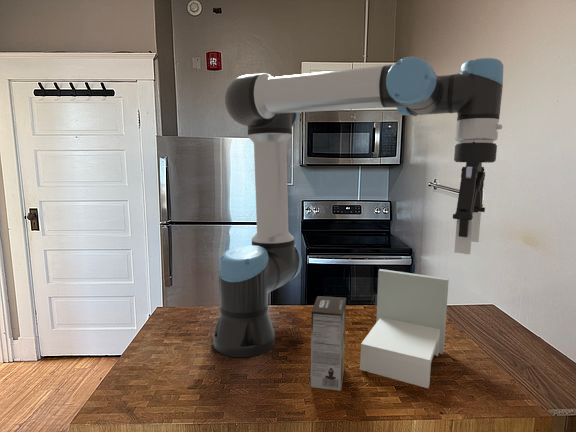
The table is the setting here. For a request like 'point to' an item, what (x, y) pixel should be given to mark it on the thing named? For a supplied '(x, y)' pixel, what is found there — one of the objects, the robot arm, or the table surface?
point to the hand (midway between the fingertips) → (467, 246)
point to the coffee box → (328, 342)
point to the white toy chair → (406, 327)
